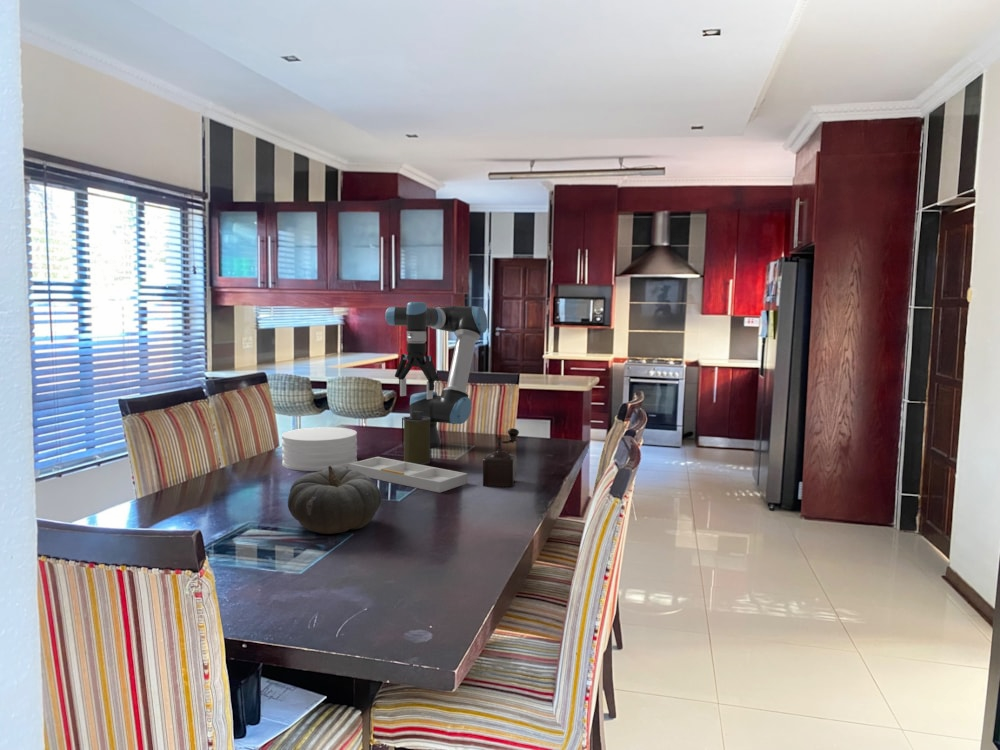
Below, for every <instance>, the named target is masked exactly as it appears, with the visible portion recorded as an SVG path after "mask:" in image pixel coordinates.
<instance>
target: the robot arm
mask: <svg viewBox="0 0 1000 750" xmlns="http://www.w3.org/2000/svg"><path fill="white" fill-rule="evenodd" d="M384 315H385V316H384V317H385V318H384V319H385V322H386V323H387V325H389V326H396V327H398V326H399V327H400V326H402V327H403V326H404V327H406V341H407V343H406V353H401V354H400V355H401V356H400V360H399V364H398V366H397V368H396V371H395V374H394V377H395V378H397V379H398V387H399V397H405V396H406V397H407V379H406V377H407V375H408V374H409V372H410V371H411V369H412V368H413V367H414V368H415V367H416V368H419V369H420V370H421V371H422V373H423V374H424V376H425V378H426V379H427V381H426V391H423V392H417V393H413V394H411V395H410V399H409V417H410V416H412V412H414V411H423V412H424V413H422V416H425V417H430V449H431V448H437V447H440V446H441V444H442V443H441V442H442V441H441V437H440V435H439V434H440V433H439V430H438V427H437V423H441V424H452V425H462V424H464V423H466V422H467V421H468V419H469V417H470V416H471V413H472V412H471V411H472V401H471V399H470V398H469V394H468V393H467V387H468V381H469V376H470V372H471V366H472V362H473V357H474V353H475V347H476V343H477V341H479V339H480V338H481V335H482V334H485V333H486V331H487V330H488V316H487V313H486V311H485V310H484V308H483V307H481V306H475V305H472V306H466V305H465V306H463V305H461V306H459V305H458V306H456V305H453V306H452V305H450V306H442V307H434V306H431V307H430V306H429V307H428V306H427V303H426V302H423V301H410V302H408V303H406V306H389V307H388V308H387V309H386V310H385V314H384ZM427 327H430V328H431V329H433V330H439V331H444V332H451V333H454V335H455V337H456V338H455V339H456V341H455V343H454V349H453V355H452V360H451V362H450V363H451V364H450V368H449V369H450V370H449V373H448V378H447V384H446V387H445V388H443V389H442V390H441V395H438V393H437V391H434V390H435V382H436V381H439V379H440V378H439V376H438V373H437V370H436V367H435V366H434V362H433V356H432V355H426V352H427V343H426V342H427Z"/></svg>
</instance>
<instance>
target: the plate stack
mask: <svg viewBox="0 0 1000 750" xmlns="http://www.w3.org/2000/svg"><path fill="white" fill-rule="evenodd" d="M357 436H358V432H357V430H354V429H351V428H348V427H347V428H346V427H335V426H332V427H331V426H317V427H313V426H312V427H304V428H297V429H292V430H288V431H285V432H283V433H282V434H281V447H282V448H281V452H282V453H281V458H282V462H281V463H282V464H281V465H282V466H283V467H284V468H286V469H289V470H296V471H303V472H304V471H305V472H307V471H308V472H319V471H323V470H325V469H328V467H329V466H331V467H332V468H333V467H335V466H341V467H345V468H348V464H349V463H353V462H357V461H358V457H357V455H358V451H357V450H358V444H357V443H358V439H357Z"/></svg>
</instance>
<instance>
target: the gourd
mask: <svg viewBox="0 0 1000 750" xmlns="http://www.w3.org/2000/svg"><path fill="white" fill-rule="evenodd" d="M289 490H290V491H289V494H288V498H287V507H288V511H289V512H290V515H292V517H293V518H294V519H295V520H296V521H298V523H299V524H300V525H301V526H302V527H303V528H305V529H306V530H308V531H311V532H313V533H317V534H322V535H323V534H324V535H332V534H333V535H334V534H340V533H345V532H348V531H349V530H359V529H363V528H364V527H366V526H367V525H368V524H369V523H370V522H371V521H372V519H374V517H375V515H376V513H377V511H378V510H379V507H380V505H381V503H382V492H381V490H380V488H379V487H378V486H377V485H376V484H374V482H373V480H372V478H369V477H367V476H366V475H364V474H363V473H361V472H359V471H352V470H351V469H348V467H341V466H335V467H333V468H332V467H331V466H329V467H328V469H325V470H323V471H313V472H310V473H309V472H308V473H306V474H304V475H301V476H299V478H297V479H296V480H295V481H294V482H293V483H292V485H291V487H290V489H289Z"/></svg>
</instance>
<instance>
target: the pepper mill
mask: <svg viewBox="0 0 1000 750" xmlns="http://www.w3.org/2000/svg"><path fill="white" fill-rule="evenodd" d="M507 434H508V435H509V439H508V440H507V441H506V440H503V441H502V436H500V435H499V436H497V450H496V451H493V452H491V453H486V455H485V456H484V458H483V459H482V487H492V488H493V487H494V488H513V487H514V486H515V484H516V483H517V480H516V454H512V453H510V452H511V451H508V452H507V451H505V450H502V444H511V443H512V444H513V443H515V442H517V441H518V439H517V437H518V435H519V434H520V432H519V430H518V429H517V428H509V429H508V431H507Z"/></svg>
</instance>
